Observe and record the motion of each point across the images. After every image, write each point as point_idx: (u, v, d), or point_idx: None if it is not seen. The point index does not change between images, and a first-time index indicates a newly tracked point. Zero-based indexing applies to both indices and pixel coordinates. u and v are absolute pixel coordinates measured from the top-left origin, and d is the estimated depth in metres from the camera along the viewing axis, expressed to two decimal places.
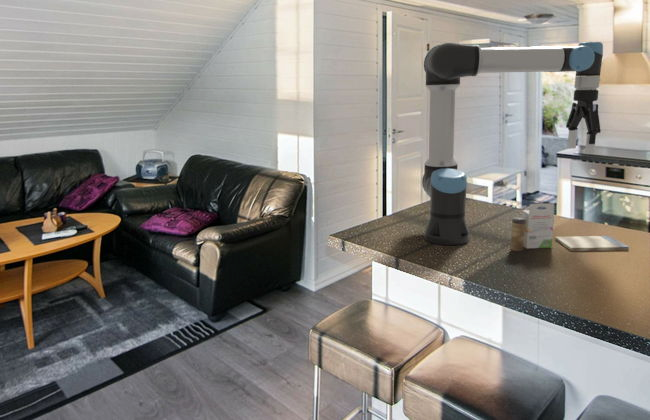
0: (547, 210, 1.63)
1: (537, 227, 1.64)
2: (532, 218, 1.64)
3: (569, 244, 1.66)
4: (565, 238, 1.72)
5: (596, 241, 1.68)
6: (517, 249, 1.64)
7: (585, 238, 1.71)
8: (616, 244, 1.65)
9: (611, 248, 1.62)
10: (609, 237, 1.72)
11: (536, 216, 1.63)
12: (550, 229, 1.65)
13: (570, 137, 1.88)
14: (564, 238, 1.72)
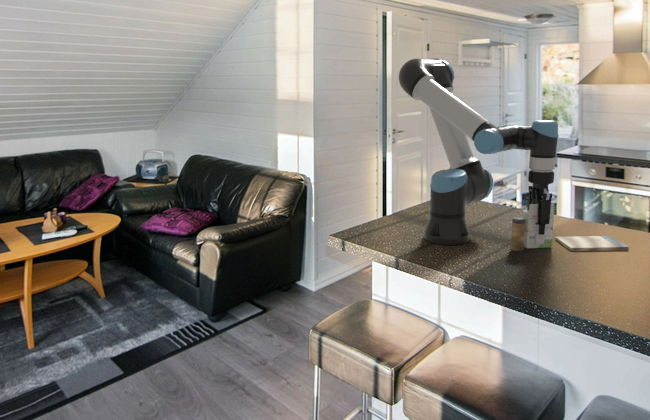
0: None
1: None
2: (532, 217, 1.64)
3: (569, 244, 1.66)
4: (565, 238, 1.72)
5: (596, 241, 1.68)
6: (517, 249, 1.64)
7: (585, 238, 1.71)
8: (616, 244, 1.65)
9: (611, 248, 1.62)
10: (609, 237, 1.72)
11: (536, 216, 1.63)
12: (550, 229, 1.65)
13: None
14: (564, 238, 1.72)
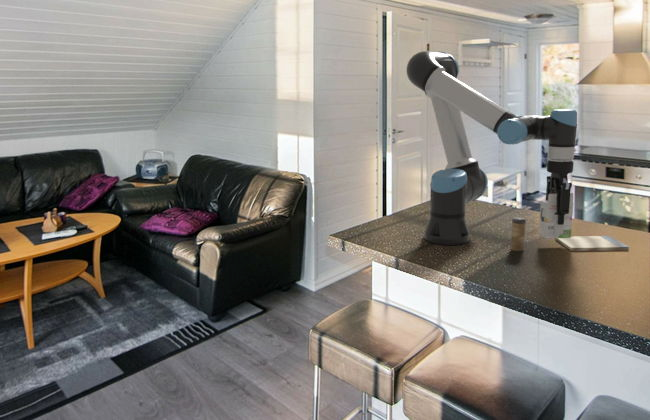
0: None
1: None
2: (551, 207, 1.62)
3: (569, 244, 1.66)
4: (565, 238, 1.72)
5: (596, 241, 1.68)
6: (517, 249, 1.64)
7: (585, 238, 1.71)
8: (616, 244, 1.65)
9: (611, 248, 1.62)
10: (609, 237, 1.72)
11: (555, 206, 1.62)
12: (569, 219, 1.64)
13: None
14: (564, 238, 1.72)
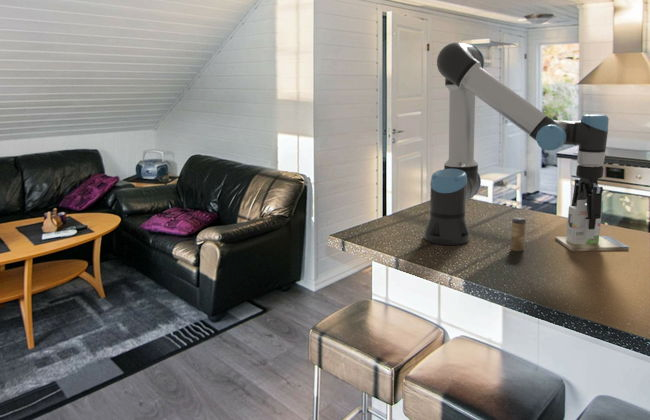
0: None
1: (585, 223, 1.64)
2: (579, 213, 1.63)
3: (569, 244, 1.66)
4: (565, 238, 1.72)
5: None
6: (517, 249, 1.64)
7: None
8: (616, 244, 1.65)
9: (611, 248, 1.62)
10: (609, 237, 1.72)
11: (583, 212, 1.63)
12: (597, 225, 1.64)
13: None
14: (564, 238, 1.72)
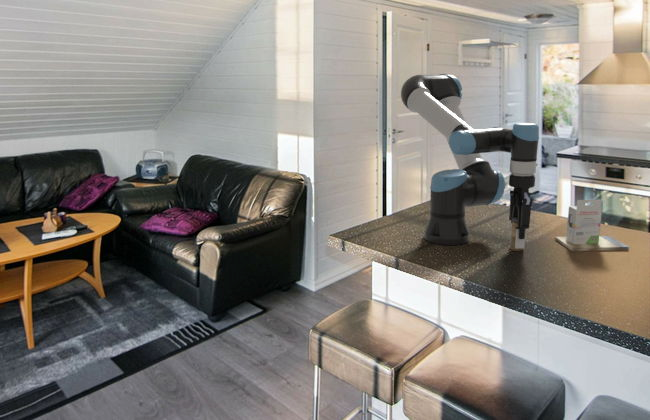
0: (595, 206, 1.63)
1: (585, 223, 1.64)
2: (579, 213, 1.63)
3: (569, 244, 1.66)
4: (565, 238, 1.72)
5: None
6: (517, 249, 1.64)
7: None
8: (616, 244, 1.65)
9: (611, 248, 1.62)
10: (609, 237, 1.72)
11: (583, 212, 1.63)
12: (597, 225, 1.64)
13: None
14: (564, 238, 1.72)
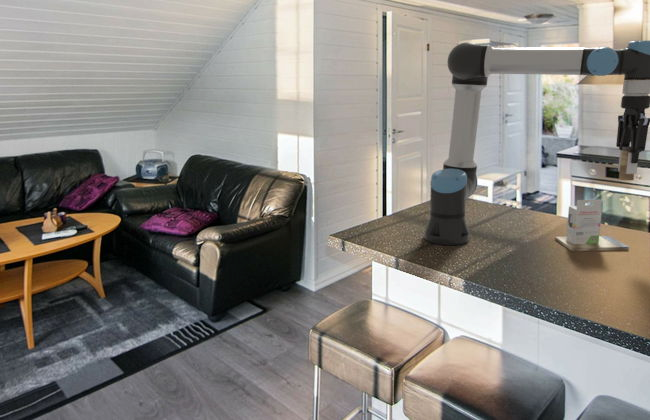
0: (595, 206, 1.63)
1: (585, 223, 1.64)
2: (579, 213, 1.63)
3: (569, 244, 1.66)
4: (565, 238, 1.72)
5: None
6: (628, 178, 1.59)
7: None
8: (616, 244, 1.65)
9: (611, 248, 1.62)
10: (609, 237, 1.72)
11: (583, 212, 1.63)
12: (597, 225, 1.64)
13: None
14: (564, 238, 1.72)
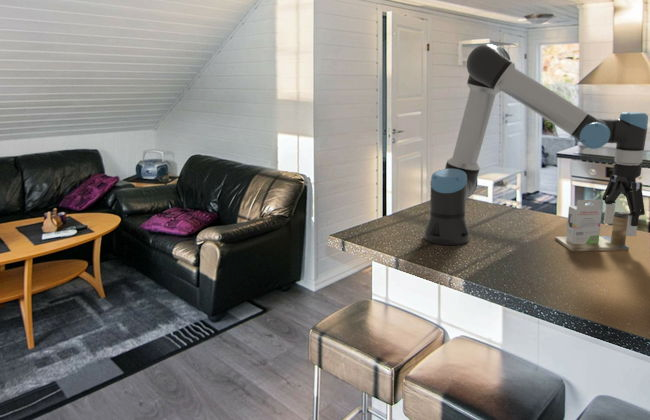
0: (595, 206, 1.63)
1: (585, 223, 1.64)
2: (579, 213, 1.63)
3: (569, 244, 1.66)
4: (565, 238, 1.72)
5: None
6: (619, 243, 1.64)
7: None
8: None
9: (611, 248, 1.62)
10: (609, 237, 1.72)
11: (583, 212, 1.63)
12: (597, 225, 1.64)
13: (607, 211, 1.70)
14: (564, 238, 1.72)
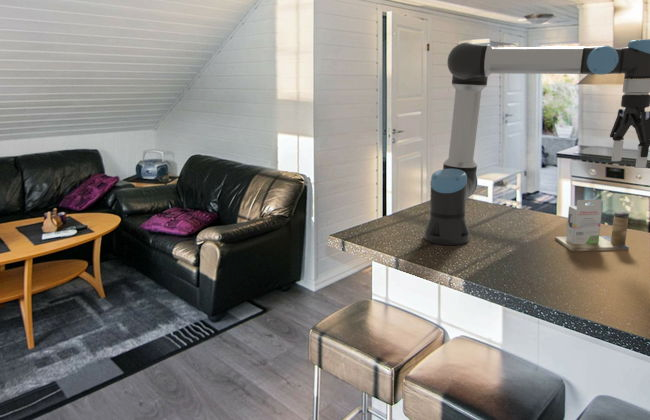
0: (595, 206, 1.63)
1: (585, 223, 1.64)
2: (579, 213, 1.63)
3: (569, 244, 1.66)
4: (565, 238, 1.72)
5: None
6: (619, 243, 1.64)
7: None
8: None
9: (611, 248, 1.62)
10: (609, 237, 1.72)
11: (583, 212, 1.63)
12: (597, 225, 1.64)
13: (615, 148, 1.65)
14: (564, 238, 1.72)
